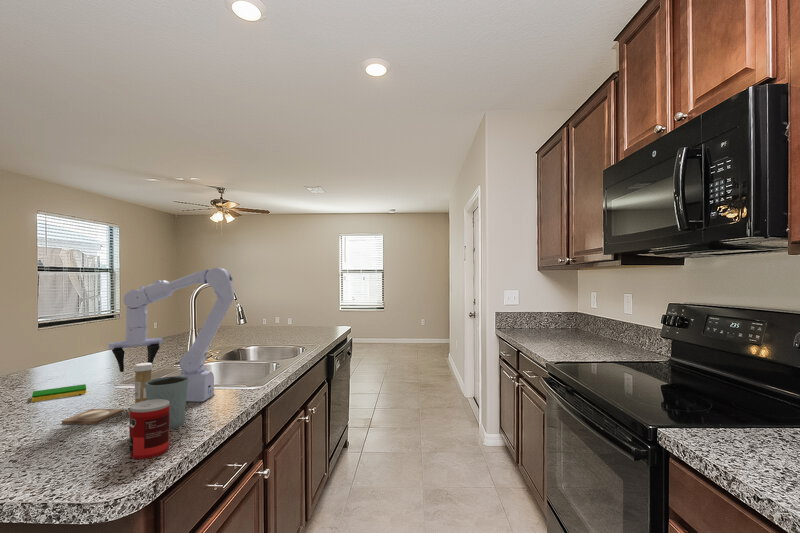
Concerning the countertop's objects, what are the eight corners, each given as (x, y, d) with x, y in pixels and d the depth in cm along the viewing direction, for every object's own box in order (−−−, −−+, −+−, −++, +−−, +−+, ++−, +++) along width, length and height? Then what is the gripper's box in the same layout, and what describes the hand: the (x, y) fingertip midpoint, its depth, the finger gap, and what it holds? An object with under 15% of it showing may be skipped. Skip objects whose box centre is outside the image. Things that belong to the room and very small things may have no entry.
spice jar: (152, 408, 123) (152, 364, 123) (134, 411, 120) (134, 366, 121) (151, 404, 127) (152, 361, 127) (134, 407, 124) (134, 363, 124)
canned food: (140, 445, 96) (141, 399, 96) (175, 444, 96) (176, 398, 97) (121, 460, 88) (121, 410, 88) (159, 459, 89) (159, 408, 89)
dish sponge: (33, 398, 135) (33, 391, 135) (85, 390, 143) (85, 383, 144) (31, 403, 129) (31, 396, 129) (86, 395, 138) (86, 388, 138)
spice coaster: (124, 411, 120) (124, 408, 120) (97, 424, 110) (97, 421, 110) (91, 411, 120) (91, 408, 120) (61, 423, 110) (62, 420, 110)
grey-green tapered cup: (142, 434, 103) (143, 387, 103) (146, 421, 112) (147, 378, 112) (187, 427, 107) (188, 382, 108) (187, 415, 116) (188, 374, 117)
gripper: (158, 324, 137) (157, 364, 137) (106, 327, 127) (105, 371, 127) (164, 325, 132) (164, 367, 132) (111, 330, 122) (110, 375, 122)
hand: (135, 369), depth 129 cm, fingers open, 7 cm apart
